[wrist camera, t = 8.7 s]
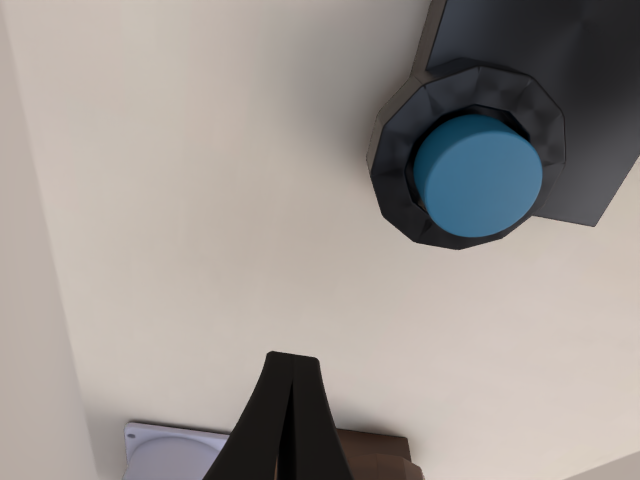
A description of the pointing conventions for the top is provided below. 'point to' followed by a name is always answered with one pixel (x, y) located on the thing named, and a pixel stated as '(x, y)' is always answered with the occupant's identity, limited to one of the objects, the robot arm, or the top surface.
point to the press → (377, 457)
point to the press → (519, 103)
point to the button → (476, 175)
